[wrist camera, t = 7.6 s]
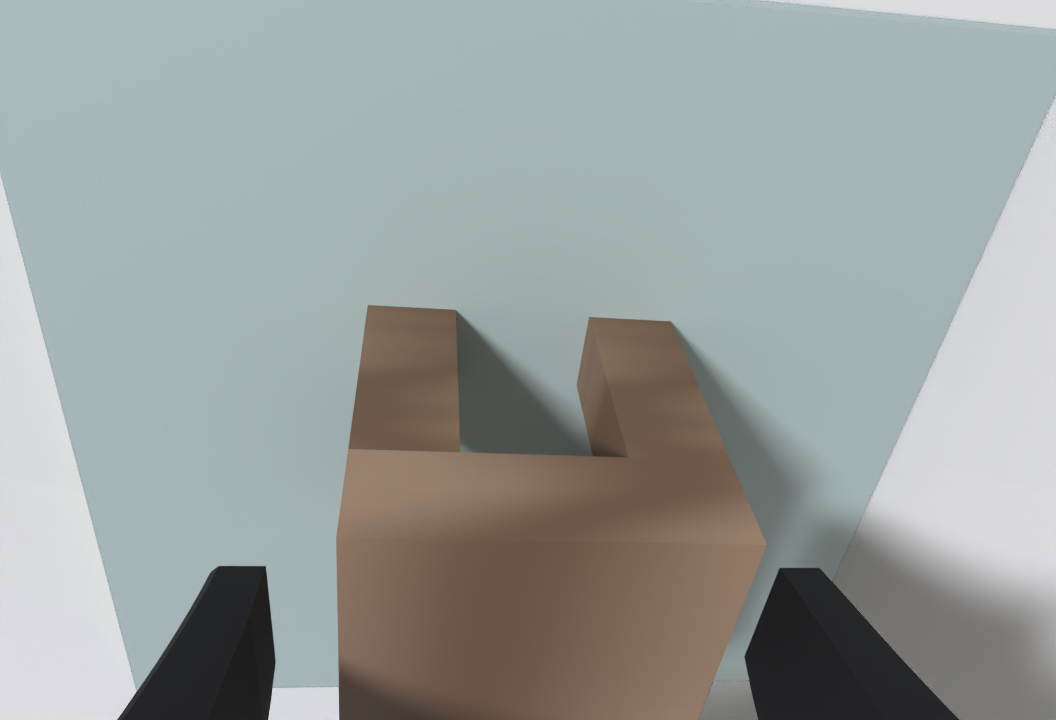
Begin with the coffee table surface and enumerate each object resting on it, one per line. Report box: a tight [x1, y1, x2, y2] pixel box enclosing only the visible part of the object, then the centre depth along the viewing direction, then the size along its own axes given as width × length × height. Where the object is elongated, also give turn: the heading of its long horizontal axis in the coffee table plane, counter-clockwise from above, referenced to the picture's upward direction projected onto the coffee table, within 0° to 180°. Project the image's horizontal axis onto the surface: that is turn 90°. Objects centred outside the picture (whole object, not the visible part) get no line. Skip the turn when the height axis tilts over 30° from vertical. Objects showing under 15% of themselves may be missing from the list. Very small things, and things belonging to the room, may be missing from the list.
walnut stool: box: [336, 305, 767, 720], centre depth 13 cm, size 5×5×5 cm
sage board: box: [0, 0, 1056, 690], centre depth 15 cm, size 15×15×1 cm
